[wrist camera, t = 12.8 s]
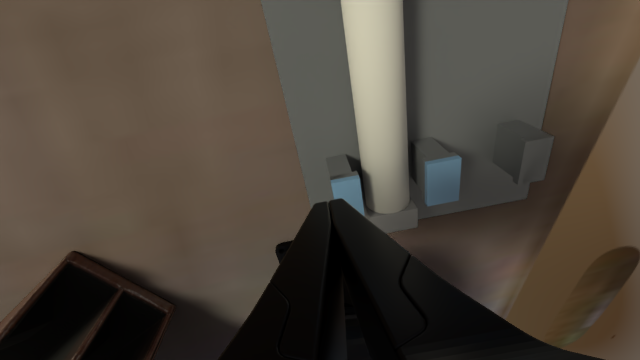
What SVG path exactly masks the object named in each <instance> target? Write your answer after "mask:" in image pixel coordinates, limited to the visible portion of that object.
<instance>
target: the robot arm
mask: <svg viewBox="0 0 640 360" xmlns="http://www.w3.org/2000/svg"><path fill="white" fill-rule="evenodd" d="M329 206H330V207H329ZM279 249H284V250H279ZM276 255H277V258H278V260H279V263H280V265H279V266H278V268H277V270H276V272H275V273H274V275H273V277H272V279H271V280H270V283H269V284H268V285H267V287H266V289H265V291H264V292H263V294H262V296H261V297H260V299H259V301H258V302H257V304H256V306H255V307H254V309H253V310H252V312H251V313H250V315H249V316H248V318H247V319H246V321H245V322H244V324H243V325H242V327H241V328H240V329H239V331H238V332H237V334H236V335H235V336H234V338H233V339H232V341H231V342H230V343H229V345H228V346H227V347H226V349H225V350H224V352H223V353H222V354H221V356H220V357H219V358H218V360H604V359H600V358H595V357H591V356H587V355H583V354H579V353H574V352H570V351H567V350H563V349H560V348H557V347H554V346H552V345H549V344H547V343H545V342H542V341H540V340H538V339H536V338H534V337H532V336H530V335H529V334H527V333H525V332H523V331H522V330H520V329H518V328H517V327H515V326H514V325H512V324H510V323H509V322H507V321H506V320H504V319H503V318H501V317H500V316H498V315H497V314H495V313H494V312H492V311H491V310H489V309H487V308H486V307H484V306H483V305H481V304H480V303H478V302H477V301H475V300H474V299H472V298H470V297H469V296H467V295H466V294H464V293H463V292H461V291H460V290H458V289H457V288H455V287H454V286H452V285H451V284H449V283H448V282H447V281H445V280H444V279H442V278H441V277H439V276H438V275H437V274H435V273H434V272H433V271H431V270H430V269H429V268H428V267H426V266H425V265H424V264H422V263H421V262H420V261H419V260H417V259H416V258H415V257H414V256H411V254H410V253H409V252H408V251H406V250H405V249H404V248H403V247H401V246H400V245H399V244H398V243H397V242H395V241H394V240H393V239H392V238H390V237H389V236H388V235H387V234H386V233H384V232H383V231H382V230H381V229H379V228H378V227H377V226H376V225H375V224H373V223H372V222H371V221H370V220H368V219H367V218H366V217H365V216H364V215H362V214H361V213H360V212H359V211H357V210H356V209H355V208H354V207H352V206H351V205H350V204H349V203H348V202H346V201H345V200H344V199H342V198H339V199H334V200H330V201H329V203H328V201H324V202H319V203H315V204H314V205H313V207H312V209H311V211H310V212H309V214H308V216H307V218H306V219H305V221H304V223H303V225H302V226H301V228H300V230H299V232H298V233H297V235H296V237H295V238H294V240H293V241H291V242H285V243H280V244H278V245H277V246H276Z"/></svg>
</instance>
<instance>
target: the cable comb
mask: <svg viewBox="0 0 640 360" xmlns="http://www.w3.org/2000/svg"><path fill="white" fill-rule="evenodd" d="M261 3H262V7H263V11H264V16H265V20H266V24H267V28H268V32H269V36H270V40H271V45H272V49H273V53H274V57H275V61H276V65H277V69H278V74H279V78H280V82H281V86H282V90H283V94H284V99H285V103H286V107H287V111H288V115H289V119H290V123H291V128H292V132H293V136H294V140H295V144H296V148H297V152H298V157H299V161H300V165H301V169H302V173H303V177H304V181H305V186H306V190H307V194H308V198H309V202H310V206H311V209H312V207H313V205H314V204H315V203H319V202H324V201H328V203H329V201H330V200H334V199H339V198H342V199H344V200H345V201H346V202H348V203H349V204H350V205H351V206H352V207H354V208H355V209H356V210H357V211H359V212H360V213H361V214H362V215H364V207H363V200H362V193H365V191H364V183H363V175H362V167H361V159H360V151H359V143H358V135H357V127H356V119H355V111H354V103H353V95H352V87H351V79H350V71H349V63H348V55H347V47H346V39H345V31H344V23H343V15H342V7H341V0H261ZM567 4H568V0H403V21H404V50H405V80H406V109H407V139H408V169H409V196H410V197H411V199H412V200H413V202H414V204H415V205H416V207H417V208H418V219H424V218H429V217H434V216H439V215H444V214H450V213H455V212H460V211H465V210H470V209H476V208H481V207H486V206H491V205H496V204H502V203H507V202H512V201H517V200H523V199H527V195H528V190H529V186H530V183H531V182H536V181H541V180H544V179H545V174H546V170H547V166H548V162H549V158H550V153H551V149H552V145H553V141H554V136H553V135H550V134H548V133H546V132H544V131H542V130H541V128H542V124H543V119H544V114H545V109H546V104H547V100H548V95H549V90H550V85H551V81H552V76H553V71H554V66H555V61H556V57H557V52H558V47H559V42H560V38H561V33H562V28H563V23H564V18H565V14H566V9H567ZM329 207H330V206H329ZM364 216H365V215H364Z"/></svg>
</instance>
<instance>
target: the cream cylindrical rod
mask: <svg viewBox="0 0 640 360" xmlns="http://www.w3.org/2000/svg"><path fill="white" fill-rule="evenodd" d="M341 7H342V15H343V23H344V31H345V39H346V47H347V55H348V63H349V71H350V79H351V87H352V95H353V103H354V111H355V119H356V127H357V135H358V143H359V151H360V159H361V167H362V175H363V183H364V191H365V193H362V200H363V207H364V215H365V217H366V218H367V219H368V220H370V221H371V222H372V223H373V224H375V225H376V226H377V227H378V228H379V229H381V230H382V231H383V232H384V233H390V232H396V231H401V230H406V229H411V228H416V227H418V208H417V207H416V205H415V204H414V202H413V200H412V199H411V197H410V196H409V169H408V139H407V109H406V80H405V50H404V21H403V0H341Z"/></svg>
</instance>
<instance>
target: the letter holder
mask: <svg viewBox="0 0 640 360" xmlns="http://www.w3.org/2000/svg"><path fill="white" fill-rule="evenodd" d="M175 309H176V306H175V305H174V304H172V303H170V302H169V301H167V300H165V299H163V298H161V297H159V296H157V295H156V294H154V293H152V292H150V291H148V290H146V289H144V288H143V287H141V286H139V285H137V284H135V283H133V282H131V281H129V280H128V279H125V278H124V277H122V276H120V275H118V274H116V273H114V272H113V271H111V270H109V269H107V268H105V267H103V266H101V265H99V264H97V263H96V262H94V261H92V260H90V259H88V258H86V257H85V256H83V255H81V254H79V253H77V252H74V251H72V252H70V253H69V254H68V255H67V256H66V257H64V258H63V260H62V261H61V262H60V263H59V264H58V265H57V266H56V267H55V268H54V269H53V270H52V271H51V272H50V273H49V274H48V275H47V276H46V277H45V278H44V279H43V280H42V281H41V282H40V283H39V284H38V285H37V286H36V287H35V288H34V289H33V290H32V291H31V292H30V293H29V294H28V295H27V296H26V297H25V298H24V299H23V300H22V301H21V302H20V303H19V304H18V305H17V306H16V307H15V308H14V309H13V310H12V311H11V312H10V313H9V314H8V315H7V316H6V317H5V318H4V319H3V320H2V321H1V322H0V360H154V357H155V355H156V353H157V350H158V348H159V346H160V343H161V341H162V339H163V336H164V334H165V332H166V329H167V327H168V325H169V322H170V320H171V318H172V316H173V314H174V312H175Z"/></svg>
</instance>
